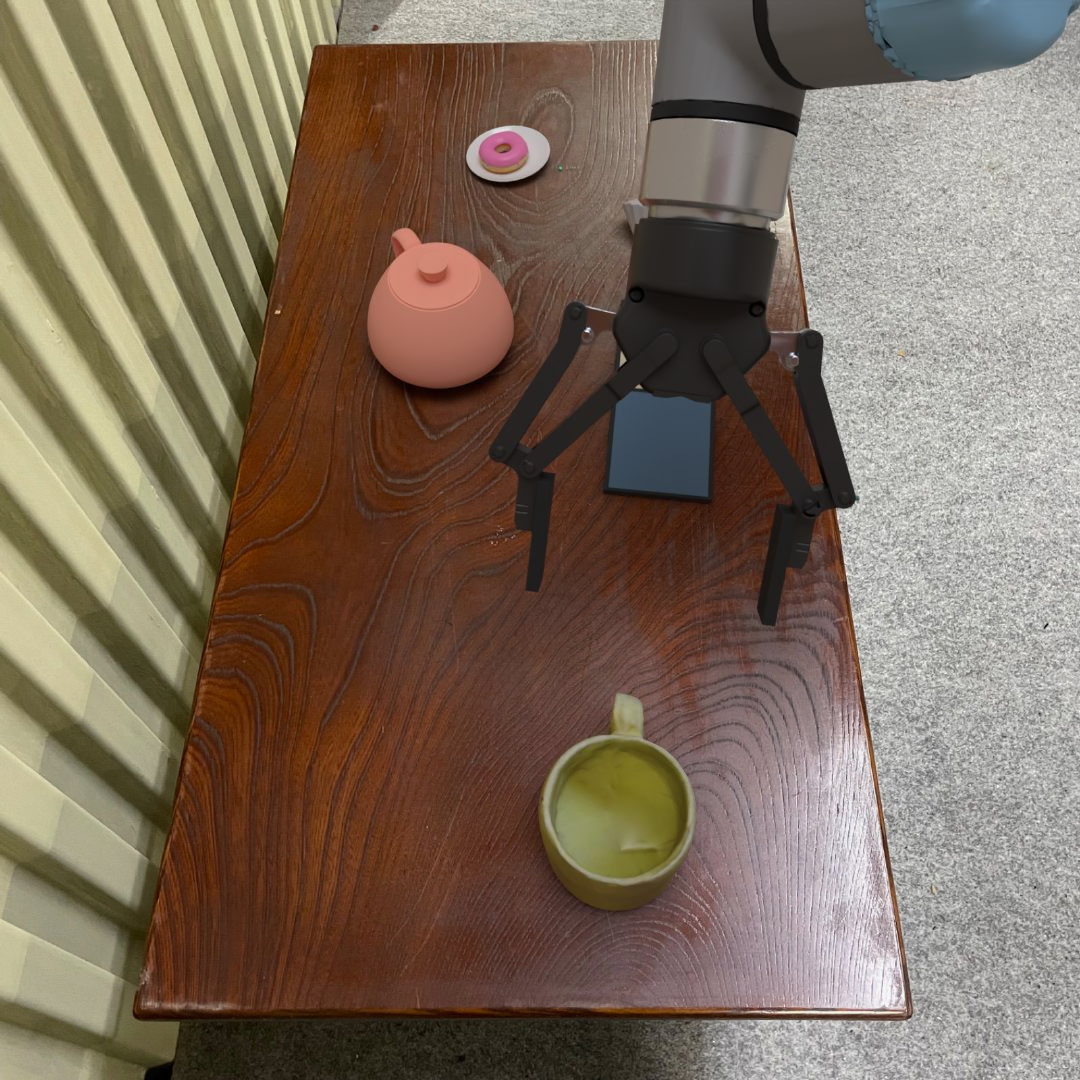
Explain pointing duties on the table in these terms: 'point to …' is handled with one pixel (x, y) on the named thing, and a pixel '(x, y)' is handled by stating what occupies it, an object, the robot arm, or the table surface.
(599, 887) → the mug
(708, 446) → the sorting mat
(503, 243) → the table surface
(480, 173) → the donut
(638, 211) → the gemstone
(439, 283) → the sugar bowl
